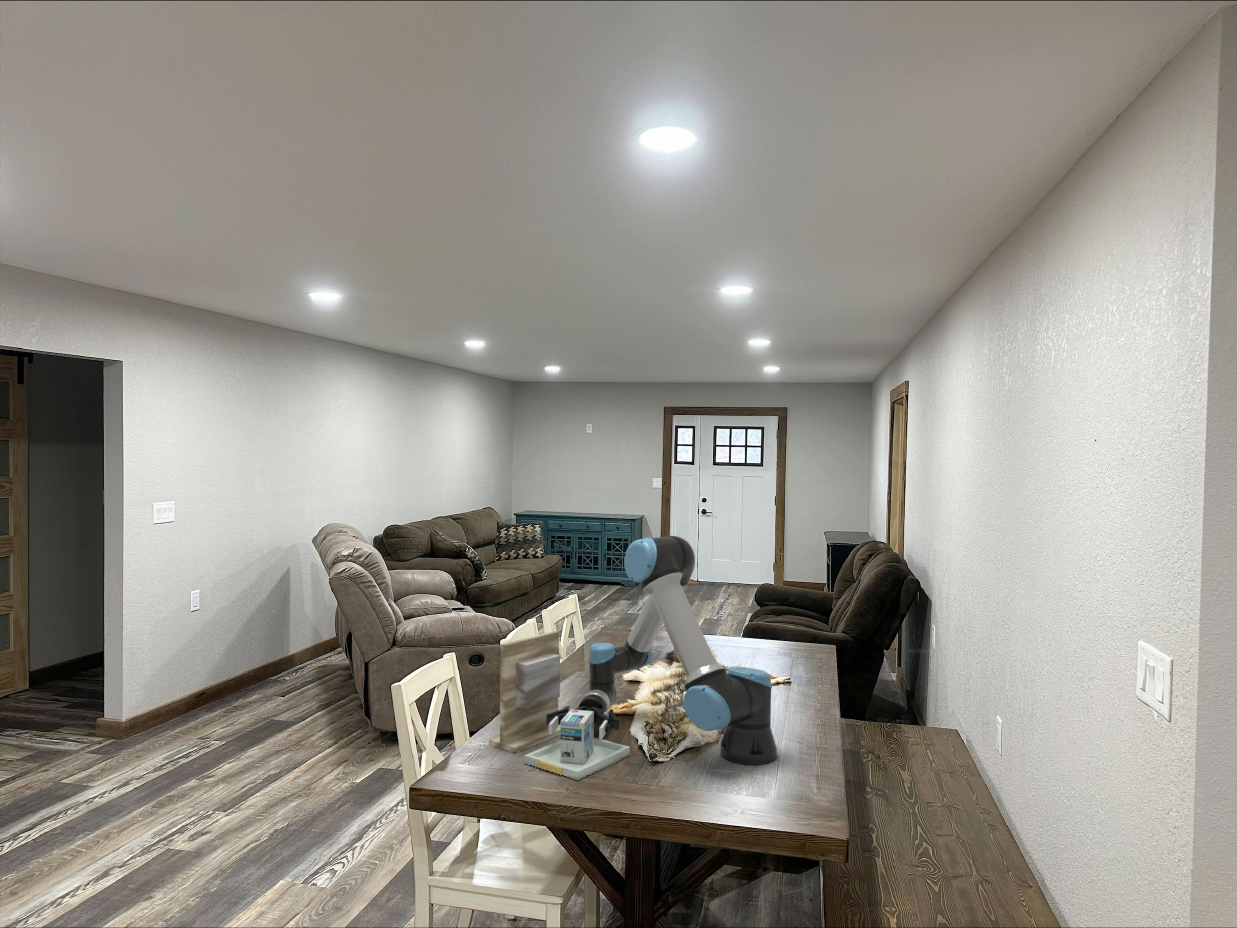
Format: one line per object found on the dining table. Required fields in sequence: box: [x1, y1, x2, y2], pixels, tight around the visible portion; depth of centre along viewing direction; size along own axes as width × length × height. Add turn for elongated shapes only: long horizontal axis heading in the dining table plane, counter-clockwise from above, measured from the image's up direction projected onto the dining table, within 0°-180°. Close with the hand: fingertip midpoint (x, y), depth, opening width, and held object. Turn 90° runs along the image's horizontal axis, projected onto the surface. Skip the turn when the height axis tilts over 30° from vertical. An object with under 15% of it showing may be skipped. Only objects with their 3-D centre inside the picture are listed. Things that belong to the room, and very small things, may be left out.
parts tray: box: [523, 736, 631, 781], centre depth 213 cm, size 18×22×2 cm
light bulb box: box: [559, 708, 595, 764], centre depth 213 cm, size 11×7×11 cm, turn 168°
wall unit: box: [488, 630, 561, 754], centre depth 229 cm, size 10×22×28 cm, turn 143°
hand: (575, 731), depth 210 cm, fingers open, 13 cm apart
